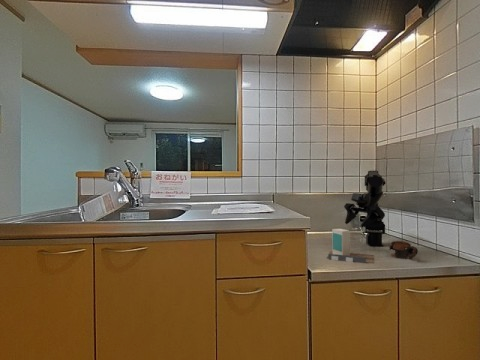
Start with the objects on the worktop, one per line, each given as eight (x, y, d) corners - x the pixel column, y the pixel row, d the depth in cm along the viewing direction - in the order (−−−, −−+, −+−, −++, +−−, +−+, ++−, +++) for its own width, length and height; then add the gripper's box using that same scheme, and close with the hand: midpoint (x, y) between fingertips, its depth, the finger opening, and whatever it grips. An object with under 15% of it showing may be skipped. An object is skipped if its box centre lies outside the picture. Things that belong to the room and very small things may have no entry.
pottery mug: (383, 259, 120) (384, 240, 124) (397, 266, 124) (397, 248, 127) (411, 258, 110) (411, 238, 114) (426, 266, 114) (425, 246, 117)
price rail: (328, 261, 117) (328, 253, 117) (365, 264, 111) (365, 257, 111) (328, 261, 116) (328, 254, 116) (365, 265, 110) (365, 258, 110)
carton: (339, 253, 125) (339, 228, 125) (349, 256, 120) (349, 230, 120) (332, 254, 123) (332, 229, 123) (342, 257, 118) (342, 231, 118)
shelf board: (330, 253, 129) (330, 251, 129) (373, 257, 121) (373, 255, 121) (326, 260, 117) (326, 258, 117) (374, 265, 110) (374, 263, 110)
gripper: (346, 186, 135) (328, 210, 131) (379, 187, 118) (360, 215, 114) (359, 201, 138) (342, 226, 134) (393, 205, 121) (374, 233, 117)
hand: (353, 225), depth 125 cm, fingers open, 9 cm apart
